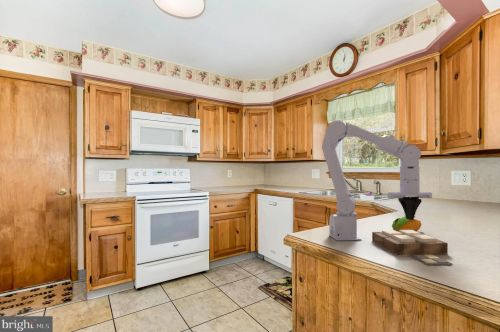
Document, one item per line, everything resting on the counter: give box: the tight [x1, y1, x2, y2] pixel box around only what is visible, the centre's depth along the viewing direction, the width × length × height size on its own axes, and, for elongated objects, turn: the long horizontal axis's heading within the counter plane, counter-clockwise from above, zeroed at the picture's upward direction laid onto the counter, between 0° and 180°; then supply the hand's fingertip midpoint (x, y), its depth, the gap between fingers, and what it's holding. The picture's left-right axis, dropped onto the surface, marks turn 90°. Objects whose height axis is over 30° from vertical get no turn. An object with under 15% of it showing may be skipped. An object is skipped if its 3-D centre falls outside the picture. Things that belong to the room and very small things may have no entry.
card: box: [409, 255, 453, 267], centre depth 72 cm, size 7×7×1 cm
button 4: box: [412, 234, 436, 242], centre depth 81 cm, size 4×4×2 cm
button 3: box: [399, 230, 422, 237], centre depth 87 cm, size 4×4×2 cm
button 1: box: [381, 229, 402, 237], centre depth 87 cm, size 4×4×2 cm
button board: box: [371, 231, 449, 256], centre depth 84 cm, size 16×14×4 cm
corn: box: [391, 215, 422, 232], centre depth 101 cm, size 7×8×20 cm
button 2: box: [393, 235, 415, 243], centre depth 80 cm, size 4×4×2 cm
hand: (409, 219), depth 87 cm, fingers closed
